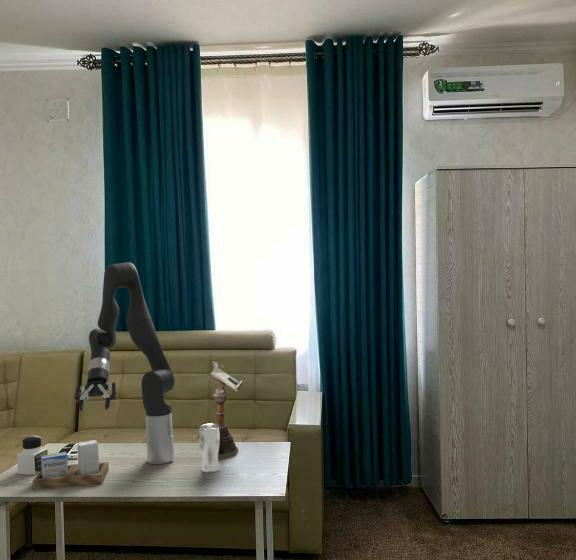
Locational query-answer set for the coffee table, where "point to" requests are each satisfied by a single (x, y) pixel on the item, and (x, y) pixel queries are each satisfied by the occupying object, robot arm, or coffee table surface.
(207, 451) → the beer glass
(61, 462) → the medicine box
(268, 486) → the coffee table surface
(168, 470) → the coffee table surface
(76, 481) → the walnut pocket rack
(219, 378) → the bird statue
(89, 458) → the skincare box
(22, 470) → the medicine bottle
